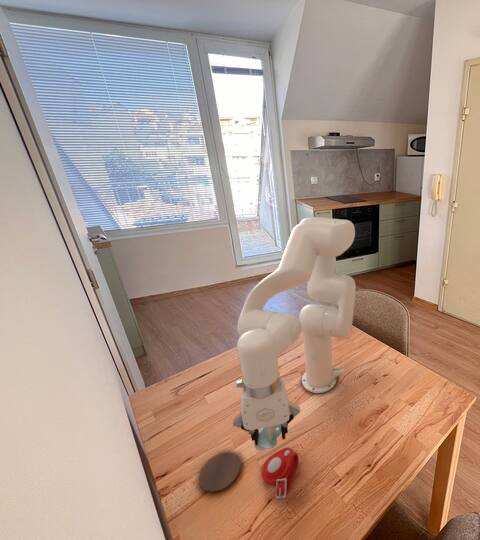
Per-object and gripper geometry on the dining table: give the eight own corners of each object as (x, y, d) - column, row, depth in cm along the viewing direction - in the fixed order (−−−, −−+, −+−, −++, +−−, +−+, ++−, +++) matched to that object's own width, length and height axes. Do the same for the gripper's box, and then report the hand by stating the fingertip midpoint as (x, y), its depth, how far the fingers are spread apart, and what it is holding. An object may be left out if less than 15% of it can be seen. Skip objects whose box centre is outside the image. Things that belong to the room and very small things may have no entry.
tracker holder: (252, 470, 77) (282, 438, 83) (260, 479, 79) (288, 447, 85) (276, 499, 69) (307, 461, 75) (284, 508, 71) (314, 470, 77)
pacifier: (249, 452, 69) (274, 455, 68) (245, 434, 66) (271, 437, 66) (262, 425, 75) (284, 427, 75) (258, 407, 73) (282, 410, 72)
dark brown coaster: (242, 450, 83) (242, 448, 83) (239, 487, 75) (238, 485, 74) (204, 458, 81) (203, 456, 81) (195, 498, 72) (195, 496, 72)
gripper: (217, 403, 59) (231, 460, 66) (303, 387, 63) (307, 443, 71) (222, 376, 66) (235, 431, 73) (300, 363, 70) (304, 416, 77)
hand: (270, 436), depth 72 cm, fingers closed on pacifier, 5 cm apart
